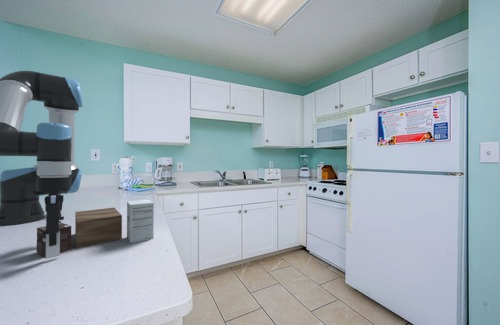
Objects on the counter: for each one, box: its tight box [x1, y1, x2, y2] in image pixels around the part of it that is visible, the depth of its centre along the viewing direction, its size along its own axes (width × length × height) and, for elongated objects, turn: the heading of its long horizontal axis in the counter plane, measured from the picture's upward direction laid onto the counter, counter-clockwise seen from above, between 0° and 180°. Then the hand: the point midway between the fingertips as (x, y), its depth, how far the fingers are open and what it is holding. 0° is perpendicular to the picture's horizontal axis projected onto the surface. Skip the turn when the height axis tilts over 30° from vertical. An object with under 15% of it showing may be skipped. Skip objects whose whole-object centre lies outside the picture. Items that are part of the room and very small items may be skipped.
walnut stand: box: [74, 207, 123, 249], centre depth 74 cm, size 16×12×8 cm
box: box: [36, 222, 72, 258], centre depth 62 cm, size 6×6×7 cm
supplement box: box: [126, 199, 155, 244], centre depth 73 cm, size 7×7×13 cm
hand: (54, 248), depth 62 cm, fingers open, 13 cm apart
